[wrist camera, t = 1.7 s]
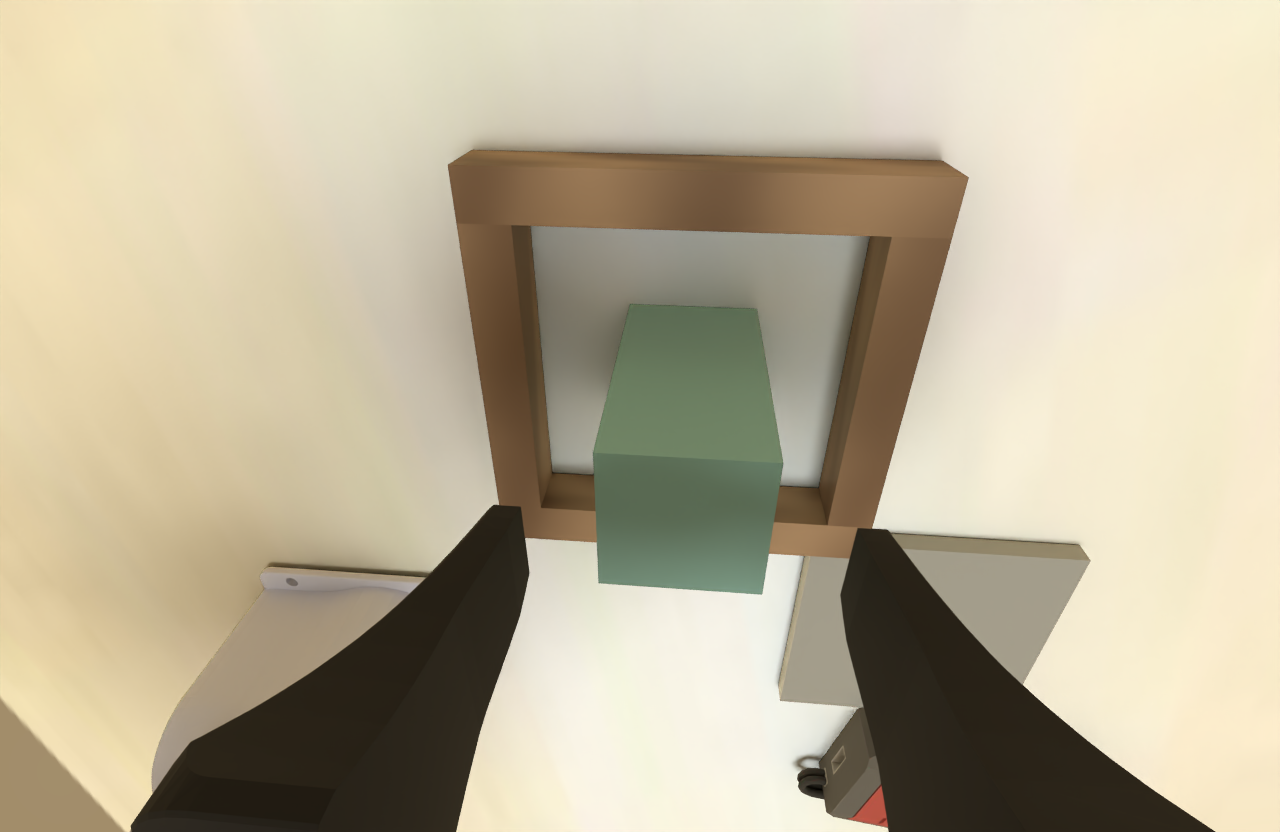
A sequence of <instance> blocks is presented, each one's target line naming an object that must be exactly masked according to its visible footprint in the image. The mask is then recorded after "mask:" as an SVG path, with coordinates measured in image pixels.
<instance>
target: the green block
mask: <svg viewBox="0 0 1280 832" xmlns="http://www.w3.org/2000/svg"><path fill="white" fill-rule="evenodd" d="M593 464H594V487H595V510H596V533H597V555H598V578H599V583H604V584H618V585H632V586H647V587H661V588H676V589H690V590H704V591H719V592H733V593H747V594H762V592H763V586H764V580H765V573H766V567H767V561H768V555H769V549H770V542H771V536H772V530H773V524H774V518H775V511H776V505H777V499H778V493H779V487H780V480H781V474H782V468H783V459H782V453H781V447H780V441H779V435H778V429H777V424H776V418H775V412H774V406H773V400H772V394H771V389H770V383H769V377H768V371H767V365H766V359H765V354H764V348H763V342H762V336H761V330H760V324H759V319H758V313H757V309H747V308H721V307H695V306H670V305H644V304H630V306H629V310H628V314H627V318H626V322H625V326H624V330H623V334H622V338H621V342H620V346H619V350H618V354H617V358H616V362H615V366H614V370H613V374H612V378H611V382H610V386H609V390H608V394H607V398H606V402H605V406H604V411H603V415H602V419H601V423H600V427H599V431H598V435H597V439H596V443H595V447H594V451H593Z"/></svg>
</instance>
